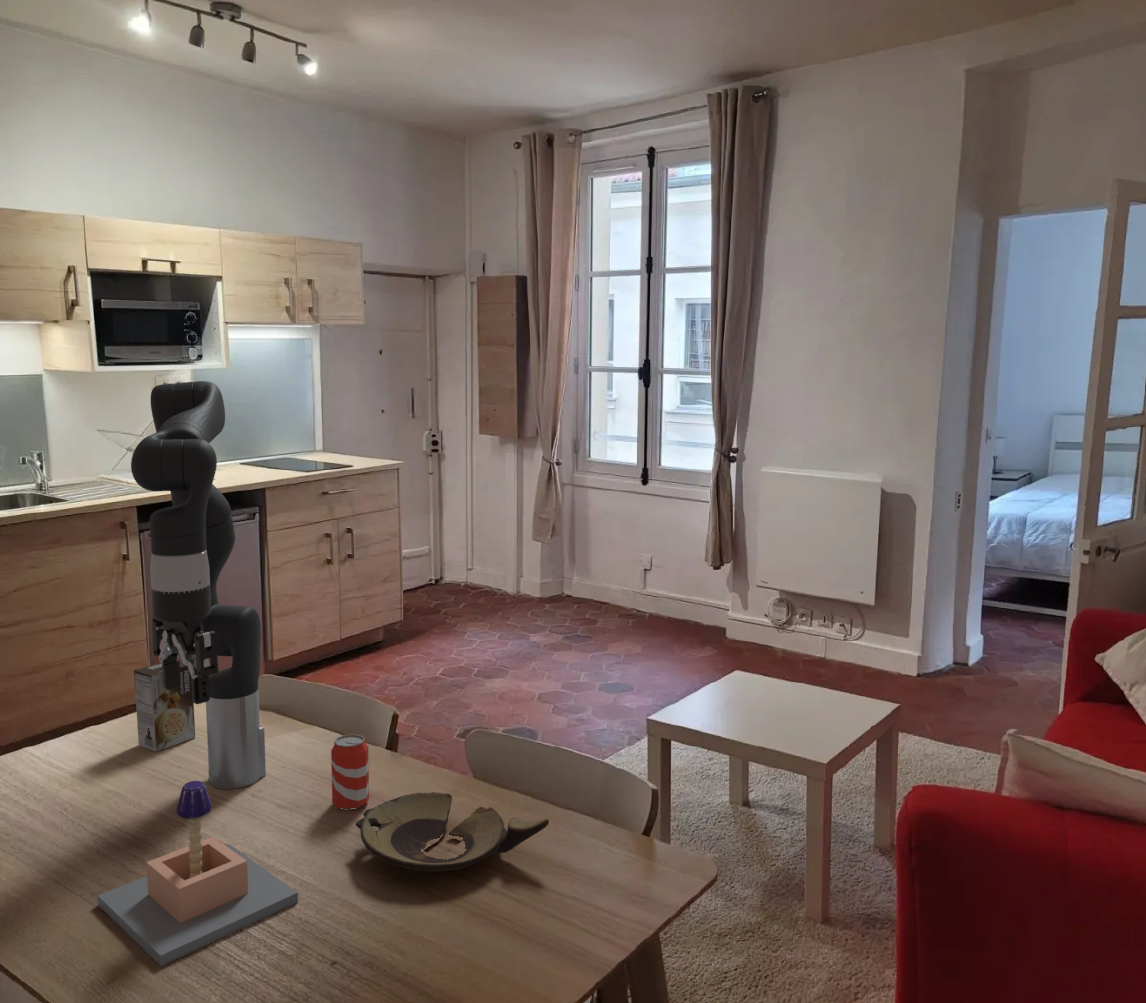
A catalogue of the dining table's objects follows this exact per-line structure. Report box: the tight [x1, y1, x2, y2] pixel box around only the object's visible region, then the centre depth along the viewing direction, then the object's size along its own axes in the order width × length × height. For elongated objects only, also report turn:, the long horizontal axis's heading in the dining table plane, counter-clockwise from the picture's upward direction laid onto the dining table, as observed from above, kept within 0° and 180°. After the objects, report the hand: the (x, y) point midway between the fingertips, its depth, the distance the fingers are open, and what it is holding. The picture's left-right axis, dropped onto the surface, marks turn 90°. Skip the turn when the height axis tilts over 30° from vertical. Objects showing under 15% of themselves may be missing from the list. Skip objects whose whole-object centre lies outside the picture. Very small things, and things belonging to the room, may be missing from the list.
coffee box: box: [133, 659, 196, 753], centre depth 189 cm, size 9×6×16 cm
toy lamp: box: [176, 780, 213, 878], centre depth 132 cm, size 5×5×17 cm
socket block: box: [97, 836, 299, 967], centre depth 133 cm, size 20×20×6 cm
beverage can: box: [330, 733, 370, 810], centre depth 164 cm, size 6×6×12 cm
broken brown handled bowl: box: [355, 791, 550, 872], centre depth 147 cm, size 22×30×8 cm
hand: (186, 694), depth 130 cm, fingers open, 8 cm apart
